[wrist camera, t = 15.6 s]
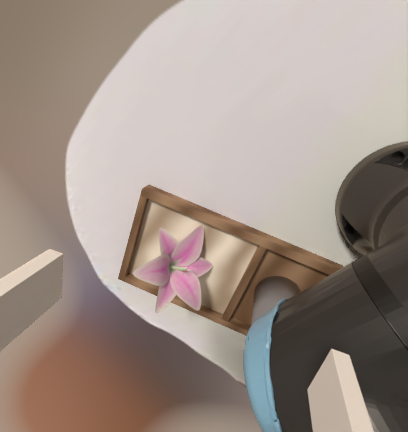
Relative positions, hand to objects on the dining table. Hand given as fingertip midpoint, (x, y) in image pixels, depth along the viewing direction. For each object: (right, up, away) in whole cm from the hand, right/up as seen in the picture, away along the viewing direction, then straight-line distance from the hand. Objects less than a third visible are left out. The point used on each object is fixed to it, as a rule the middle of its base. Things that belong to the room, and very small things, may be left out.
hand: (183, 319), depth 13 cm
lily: (-2, -1, +29) cm, 29 cm away
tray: (+4, -3, +30) cm, 30 cm away
